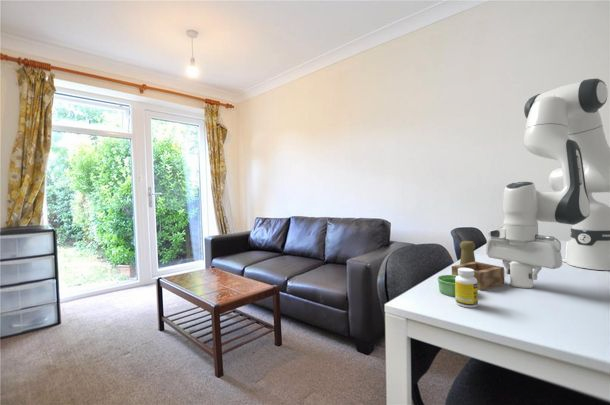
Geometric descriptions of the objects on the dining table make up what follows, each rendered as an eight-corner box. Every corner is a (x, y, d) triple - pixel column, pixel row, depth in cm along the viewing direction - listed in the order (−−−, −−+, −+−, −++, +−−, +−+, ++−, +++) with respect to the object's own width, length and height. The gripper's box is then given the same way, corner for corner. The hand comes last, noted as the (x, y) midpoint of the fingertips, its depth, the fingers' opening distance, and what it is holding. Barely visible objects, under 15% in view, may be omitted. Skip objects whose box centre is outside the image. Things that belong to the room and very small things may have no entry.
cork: (460, 270, 111) (459, 242, 111) (458, 266, 117) (457, 239, 116) (478, 271, 109) (477, 242, 109) (475, 267, 115) (474, 240, 114)
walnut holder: (475, 276, 103) (475, 261, 103) (504, 284, 94) (504, 267, 93) (452, 282, 98) (451, 266, 98) (480, 290, 89) (479, 273, 89)
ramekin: (466, 300, 82) (465, 285, 82) (433, 294, 88) (433, 280, 88) (473, 291, 88) (473, 277, 88) (443, 286, 95) (442, 273, 94)
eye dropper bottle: (529, 290, 87) (528, 251, 87) (508, 285, 92) (507, 248, 92) (535, 287, 90) (534, 249, 89) (514, 282, 94) (513, 246, 94)
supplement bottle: (478, 309, 75) (476, 272, 75) (454, 306, 78) (453, 270, 78) (478, 302, 80) (477, 267, 79) (456, 299, 83) (455, 266, 82)
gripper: (566, 236, 82) (567, 283, 82) (494, 229, 101) (495, 268, 101) (554, 238, 79) (555, 287, 80) (482, 231, 98) (483, 270, 99)
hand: (521, 276), depth 91 cm, fingers closed on eye dropper bottle, 5 cm apart
